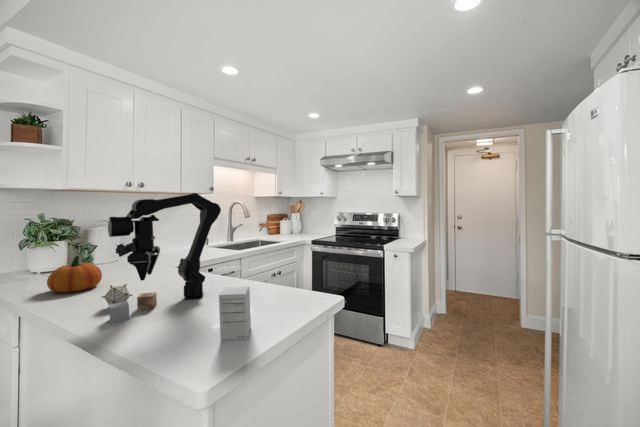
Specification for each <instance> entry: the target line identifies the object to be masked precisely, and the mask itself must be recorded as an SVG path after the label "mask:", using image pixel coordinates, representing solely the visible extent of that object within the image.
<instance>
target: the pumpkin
mask: <svg viewBox="0 0 640 427" xmlns="http://www.w3.org/2000/svg"><path fill="white" fill-rule="evenodd" d="M102 277H103V272H102V270H101V269H100V267H99V266H98V265H96V264H93V263H89V262H87V263H86V262H80V255H76V256H74V258H73V260H72V261H71V263H70V264H66V265H61V266H60V267H58V268H56V269H55V270H53V271H52V272H51V273H50V274H49V275H48V276H47V280H46V285H47V288H48V289H49V290H50V291H51V292H54V293H55V292H56V293H67V294H68V293H69V294H70V293H76V292H82V291H85V290H89V289H92V288H95V287H96V286H97V285H99V284H100V282H102V281H101V280H102V279H103V278H102Z"/></svg>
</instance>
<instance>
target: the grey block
mask: <svg viewBox="0 0 640 427" xmlns="http://www.w3.org/2000/svg"><path fill="white" fill-rule="evenodd" d="M108 307H109V322H110V325H113V324H117V323H122V322H126V321H130V304H129V302H128V300H127V301H126V302H121V303H115V304H110V305H108Z"/></svg>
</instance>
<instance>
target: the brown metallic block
mask: <svg viewBox="0 0 640 427" xmlns="http://www.w3.org/2000/svg"><path fill="white" fill-rule="evenodd" d="M157 300H158V299H157V292H156V291H155V292H154V291H153V292H143V293H140V294H139V295H138V296H137V297H136V302H137V304H136V305H137V312H146V311H154V310H155V308H156V307H157V305H158V304H157V303H158V302H157Z"/></svg>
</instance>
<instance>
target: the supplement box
mask: <svg viewBox="0 0 640 427" xmlns="http://www.w3.org/2000/svg"><path fill="white" fill-rule="evenodd" d="M250 290H251V289H250V286H231V287H224V288H223V290H222V291H221V292H220V293H219V295H218V303H219V304H218V307H219V308H218V309H219V311H218V312H219V330H220V331H219V334H220V337H219V338H220V341H237V340H247V339H248V338H249V335H250V333H251V329H252V325H251V324H252V323H251V321H252V320H251V295H250V292H251V291H250Z"/></svg>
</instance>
